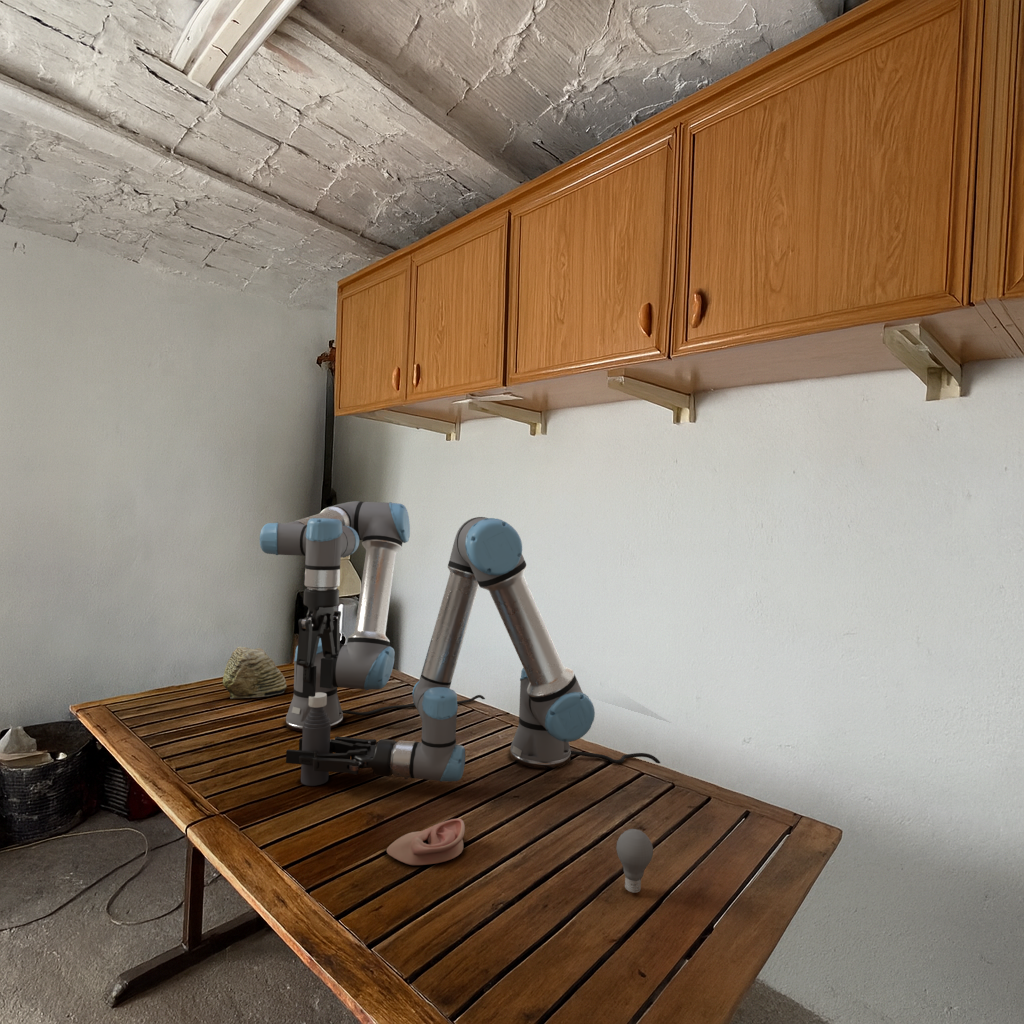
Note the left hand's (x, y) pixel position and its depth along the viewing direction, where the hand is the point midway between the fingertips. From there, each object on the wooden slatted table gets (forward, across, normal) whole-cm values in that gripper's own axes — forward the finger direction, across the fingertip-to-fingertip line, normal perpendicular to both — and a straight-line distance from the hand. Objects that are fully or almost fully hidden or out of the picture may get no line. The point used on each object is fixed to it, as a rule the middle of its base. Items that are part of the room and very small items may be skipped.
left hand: (317, 691), depth 141 cm
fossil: (+20, -46, -50) cm, 70 cm away
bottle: (+20, 0, 0) cm, 20 cm away
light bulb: (+20, +17, +71) cm, 76 cm away
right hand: (+14, 0, -5) cm, 15 cm away
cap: (+1, 0, 0) cm, 1 cm away
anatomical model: (+20, +17, +34) cm, 43 cm away
